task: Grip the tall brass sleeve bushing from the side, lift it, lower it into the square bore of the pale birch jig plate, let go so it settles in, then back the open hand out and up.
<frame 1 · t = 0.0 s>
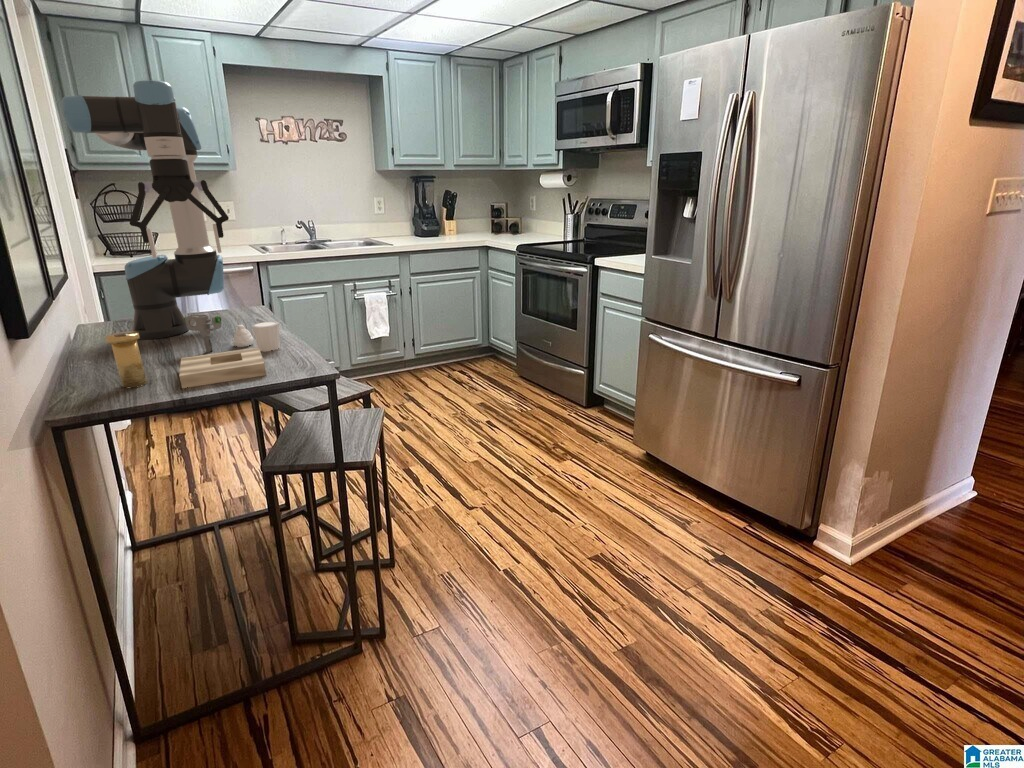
hand: (188, 254, 140), 28 cm above the table, tool pointing down, fingers open, 13 cm apart
mechanical component: (209, 352, 164), on the table
brass sleeve: (135, 384, 139), on the table
garlic bulb: (244, 345, 170), on the table
birch jig: (224, 372, 146), on the table
white cup: (269, 349, 165), on the table
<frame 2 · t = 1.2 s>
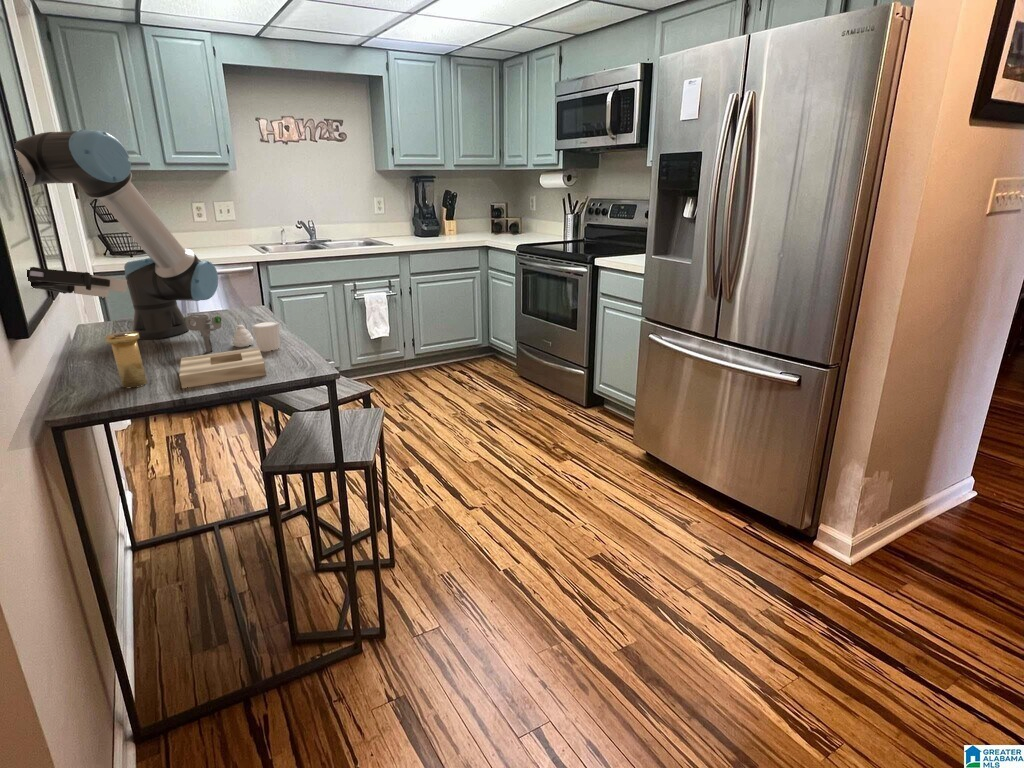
hand: (117, 289, 134), 22 cm above the table, tool tilted 70°, fingers open, 13 cm apart
nothing on the table moved.
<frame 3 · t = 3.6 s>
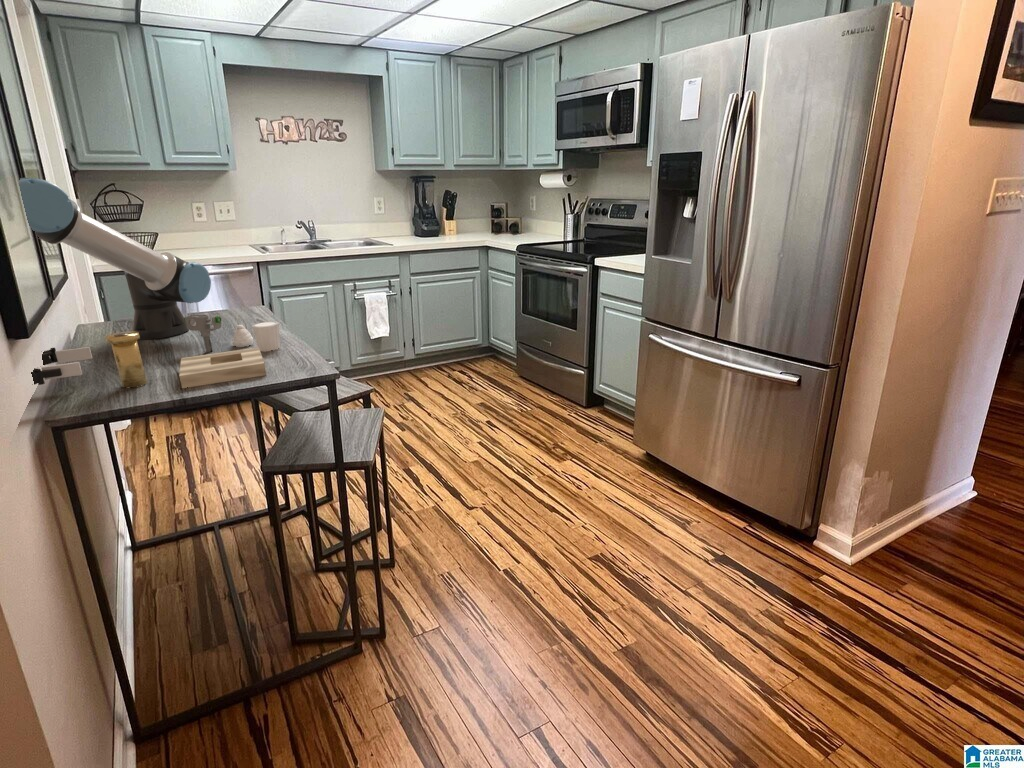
hand: (86, 360, 133), 7 cm above the table, tool horizontal, fingers open, 13 cm apart
nothing on the table moved.
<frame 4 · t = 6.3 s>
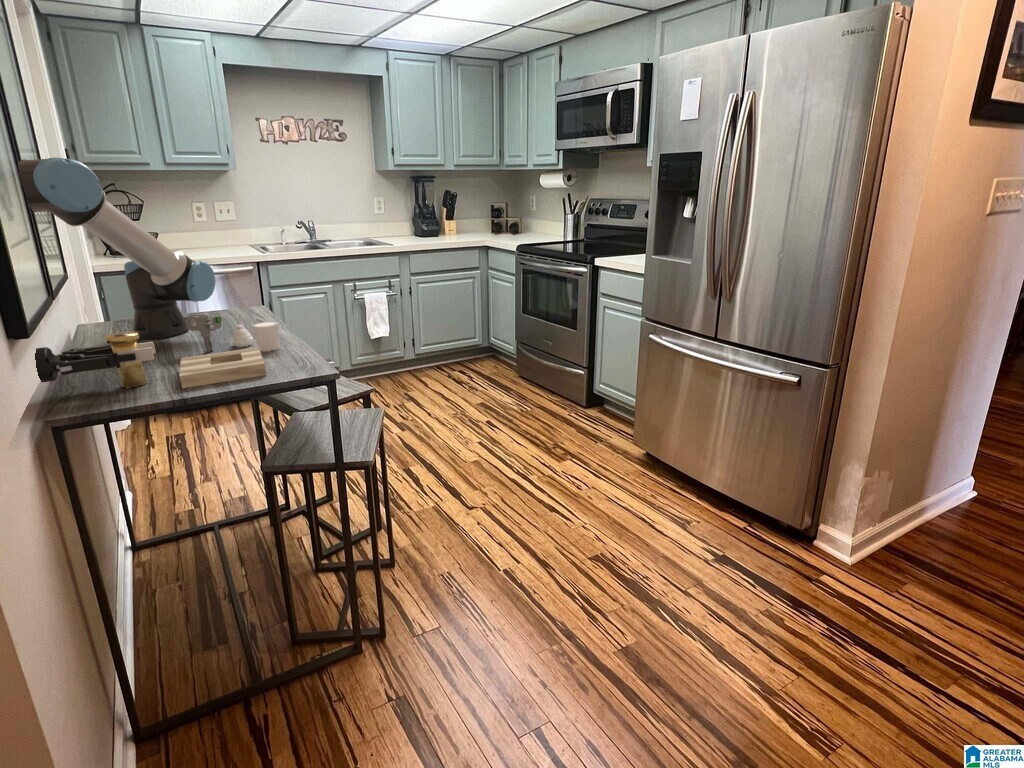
hand: (153, 350, 139), 8 cm above the table, tool horizontal, fingers closed on brass sleeve, 5 cm apart
brass sleeve: (135, 384, 139), on the table, touching gripper
everything else where it was.
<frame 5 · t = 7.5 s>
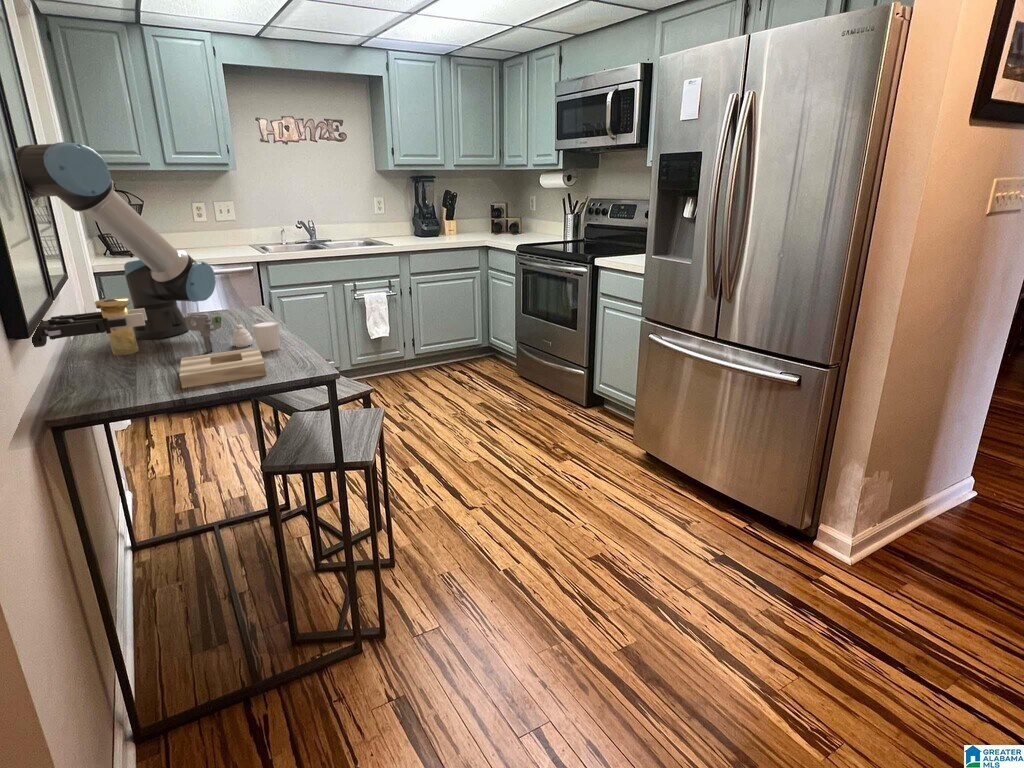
hand: (144, 316, 136), 16 cm above the table, tool horizontal, fingers closed on brass sleeve, 5 cm apart
brass sleeve: (126, 351, 136), point 8 cm above the table, touching gripper
everything else where it was.
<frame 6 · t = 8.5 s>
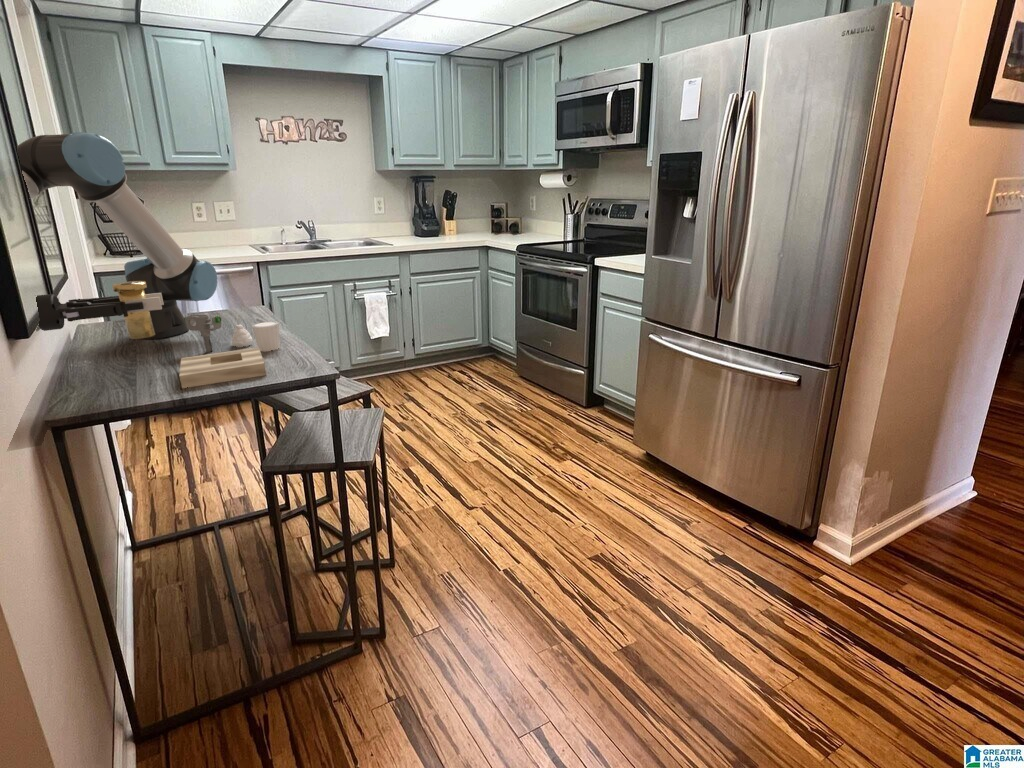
hand: (161, 300, 136), 19 cm above the table, tool horizontal, fingers closed on brass sleeve, 5 cm apart
brass sleeve: (142, 336, 136), point 11 cm above the table, touching gripper
everything else where it was.
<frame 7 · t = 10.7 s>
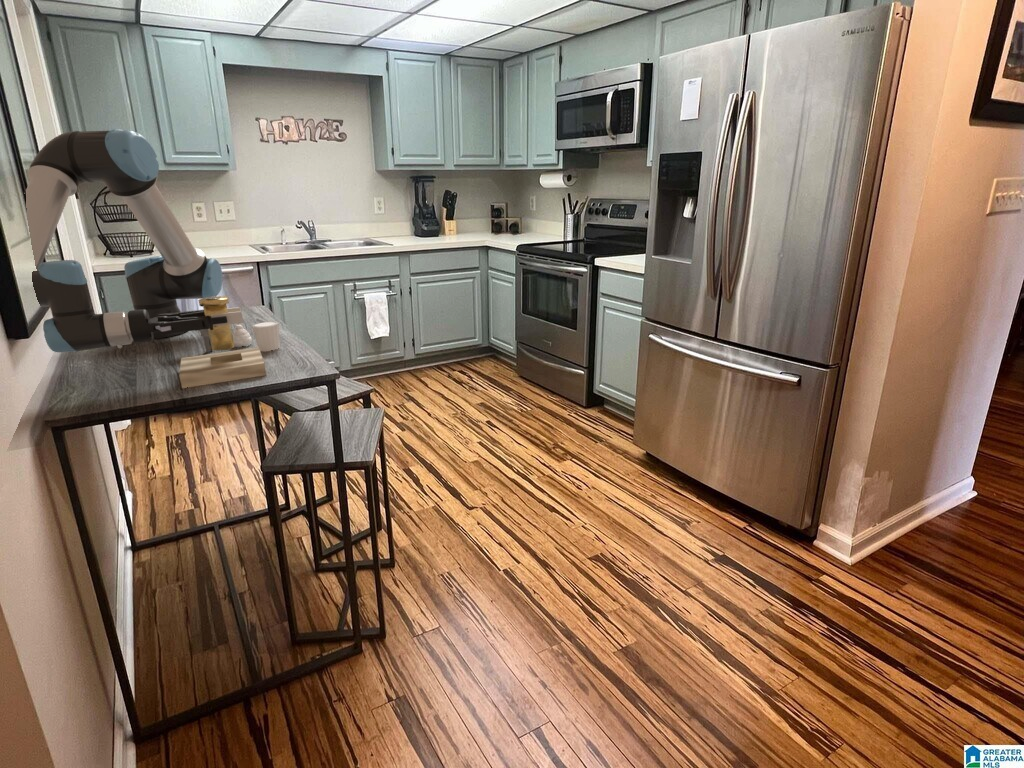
hand: (241, 314, 145), 13 cm above the table, tool horizontal, fingers closed on brass sleeve, 5 cm apart
brass sleeve: (223, 347, 145), point 6 cm above the table, touching gripper
everything else where it was.
when the fingers open (9 cm above the table, at t = 12.1 s): brass sleeve drops 1 cm, resting in birch jig.
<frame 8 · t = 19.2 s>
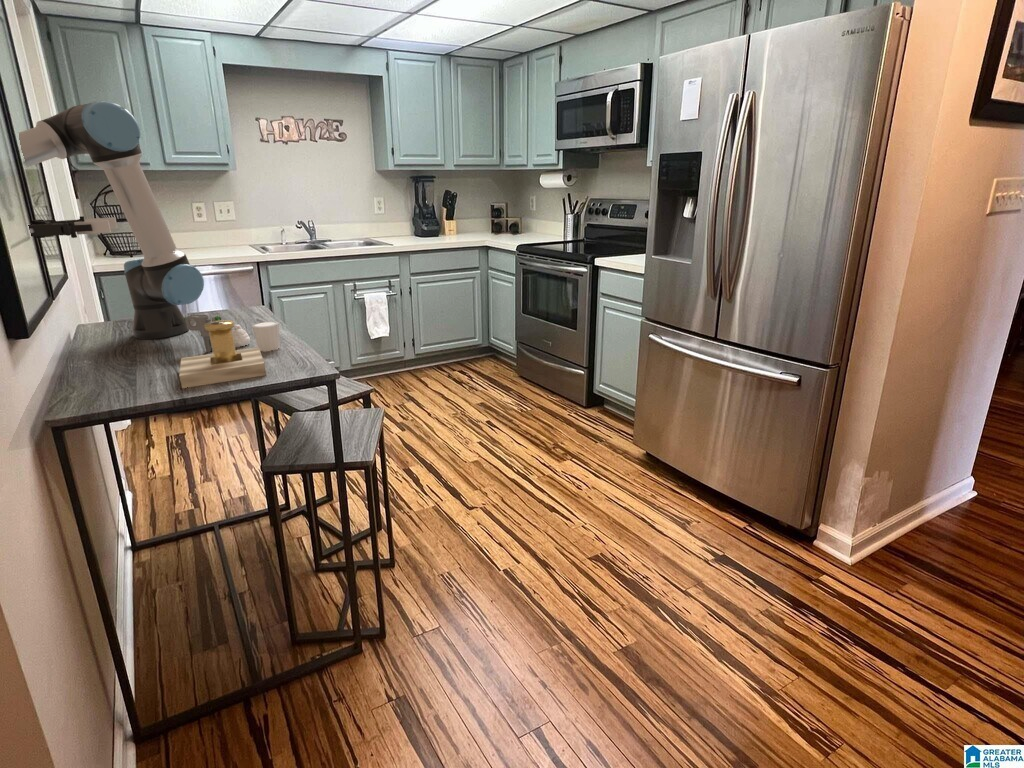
hand: (113, 224, 144), 35 cm above the table, tool horizontal, fingers open, 13 cm apart
brass sleeve: (228, 370, 147), resting in birch jig
at the end: brass sleeve 0.2 cm off-centre on the birch jig, point 0.0 cm above the birch jig's base; brass sleeve tilted 1°; the gripper is holding nothing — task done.
